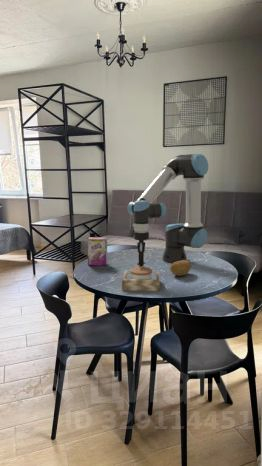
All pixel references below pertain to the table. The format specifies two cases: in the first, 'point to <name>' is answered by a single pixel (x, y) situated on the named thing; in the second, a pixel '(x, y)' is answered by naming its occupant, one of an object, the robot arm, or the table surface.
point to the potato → (180, 267)
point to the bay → (140, 284)
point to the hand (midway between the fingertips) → (141, 276)
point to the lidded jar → (141, 273)
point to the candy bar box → (97, 251)
